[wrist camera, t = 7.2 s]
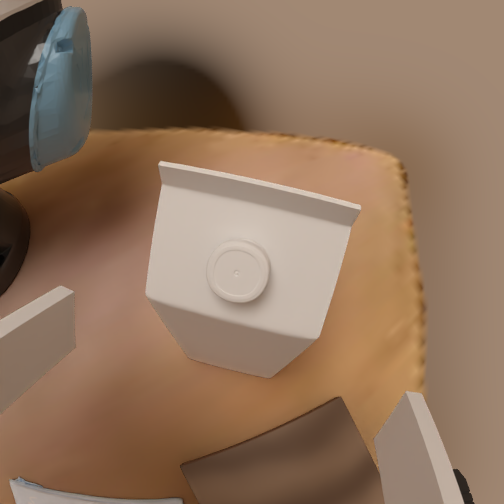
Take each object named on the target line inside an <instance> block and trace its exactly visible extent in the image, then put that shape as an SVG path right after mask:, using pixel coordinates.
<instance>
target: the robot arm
mask: <svg viewBox="0 0 504 504" xmlns="http://www.w3.org/2000/svg"><path fill="white" fill-rule="evenodd" d="M91 114H92V60H91V42H90V32H89V27H88V25H87V17H86V13H85V11H84V10H83V9H82V8H80V7H72V6H69V7H67V8H65V9H63V8H62V4H61V0H0V184H2V183H4V182H6V181H9V180H11V179H14V178H16V177H19V176H21V175H24V174H26V173H29V172H32V171H35V172H39V171H42V170H43V168H45V166H48V165H50V164H52V163H55V162H58V161H60V160H63V159H65V158H68V157H70V156H72V155H74V154H76V153H77V152H78V151H79V150H80V149H81V148H82V146H83V145H84V144H85V142H86V140H87V137H88V134H89V130H90V124H91ZM29 236H30V224H29V218H28V215H27V213H26V211H25V209H24V208H23V207H22V205H21V204H20V203H19V201H18V200H17V199H16V198H15V197H14V196H13V195H12V194H10V193H8V192H6V191H4V190H2V189H1V188H0V295H1V294H2V293H3V292H4V291H5V290H6V289H7V287H8V286H9V285H10V283H11V282H12V281H13V279H14V278H15V276H16V274H17V272H18V271H19V269H20V267H21V264H22V262H23V260H24V257H25V254H26V251H27V247H28V243H29ZM75 348H76V344H75V316H74V291H72V290H70V289H67V288H65V287H63V286H61V285H60V286H58V287H57V288H55V289H53V290H51V291H49V292H48V293H46V294H44V295H42V296H41V297H39V298H37V299H35V300H34V301H32V302H30V303H28V304H27V305H25V306H23V307H21V308H20V309H18V310H16V311H14V312H13V313H11V314H9V315H8V316H6V317H4V318H3V319H1V320H0V414H2V413H3V412H4V411H5V410H6V409H7V408H8V407H9V406H10V405H11V404H12V403H13V402H15V401H16V400H17V399H18V398H19V397H20V396H21V395H22V394H23V393H24V392H26V391H27V390H28V389H29V388H30V387H31V386H32V385H33V384H35V383H36V382H37V381H38V380H39V379H40V378H41V377H42V376H44V375H45V374H46V373H47V372H48V371H49V370H50V369H51V368H53V367H54V366H55V365H56V364H57V363H58V362H59V361H61V360H62V359H63V358H64V357H65V356H66V355H68V354H69V353H70V352H71V351H72V350H73V349H75ZM374 444H375V449H376V454H377V460H378V465H379V471H380V477H381V483H382V489H383V496H384V502H385V504H474V502H472V501H473V498H472V495H471V493H469V491H470V490H469V487H468V484H467V481H466V479H465V478H464V476H463V475H462V474H461V473H460V471H459V470H458V469H452V467H451V464H450V461H449V459H448V456H447V453H446V451H445V448H444V446H443V443H442V440H441V438H440V435H439V433H438V431H437V428H436V426H435V423H434V421H433V419H432V416H431V414H430V411H429V409H428V407H427V405H426V402H425V400H424V398H423V395H422V393H415V392H409V391H405V393H404V395H403V396H402V398H401V399H400V401H399V403H398V404H397V406H396V407H395V409H394V410H393V412H392V413H391V415H390V416H389V418H388V419H387V421H386V422H385V424H384V425H383V426H382V428H381V429H380V431H379V432H378V434H377V435H376V436H375V438H374Z"/></svg>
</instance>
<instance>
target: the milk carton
mask: <svg viewBox="0 0 504 504" xmlns="http://www.w3.org/2000/svg"><path fill="white" fill-rule="evenodd" d="M158 167H159V172H160V176H161V181H162V187H161V192H160V197H159V203H158V208H157V214H156V220H155V226H154V233H153V239H152V246H151V252H150V260H149V267H148V275H147V283H146V293H145V294H146V296H147V298H148V300H149V301H150V303H151V305H152V306H153V308H154V309H155V311H156V312H157V314H158V315H159V317H160V318H161V320H162V321H163V323H164V324H165V325H166V327H167V328H168V330H169V331H170V333H171V334H172V336H173V337H174V338H175V340H176V341H177V343H178V344H179V345H180V347H181V348H182V350H183V351H184V352H185V354H186V355H187V357H188V358H190V359H192V360H195V361H199V362H202V363H206V364H210V365H213V366H217V367H221V368H225V369H229V370H233V371H237V372H241V373H245V374H250V375H254V376H259V377H263V378H271V377H273V376H274V375H275V374H276V373H278V372H279V371H280V370H281V369H283V368H284V367H285V366H286V365H288V364H289V363H290V362H291V361H292V360H294V359H295V358H296V357H297V356H298V355H300V354H301V353H302V352H303V351H304V350H305V349H307V348H308V347H309V346H310V345H311V344H312V343H313V342H314V341H315V340H316V339H317V338H319V336H320V333H321V330H322V327H323V324H324V321H325V318H326V314H327V311H328V308H329V305H330V302H331V298H332V295H333V292H334V289H335V285H336V282H337V278H338V275H339V272H340V268H341V264H342V261H343V257H344V254H345V250H346V246H347V243H348V239H349V235H350V231H351V227H352V225H353V223H354V222H355V220H356V218H357V217H358V215H359V213H360V211H361V206H360V205H358V204H354V203H351V202H347V201H343V200H340V199H336V198H332V197H328V196H324V195H321V194H317V193H313V192H309V191H305V190H301V189H296V188H292V187H288V186H284V185H279V184H275V183H271V182H266V181H262V180H257V179H253V178H248V177H243V176H239V175H234V174H229V173H224V172H219V171H214V170H209V169H203V168H198V167H193V166H187V165H182V164H176V163H170V162H164V161H160V163H159V164H158Z"/></svg>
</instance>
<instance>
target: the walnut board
mask: <svg viewBox="0 0 504 504" xmlns="http://www.w3.org/2000/svg"><path fill="white" fill-rule="evenodd" d="M180 468H181V470H182V472H183V474H184V476H185V478H186V480H187V482H188V483H189V485H190V487H191V489H192V491H193V493H194V495H195V497H196V499H197V500H198V502H199V504H385V502H384V496H383V489H382V483H381V477H380V474H379V472H378V470H377V468H376V466H375V464H374V461H373V459H372V457H371V455H370V453H369V451H368V449H367V447H366V445H365V443H364V441H363V439H362V437H361V435H360V433H359V431H358V429H357V427H356V425H355V423H354V421H353V419H352V417H351V415H350V413H349V411H348V410H347V408H346V406H345V404H344V402H343V400H342V398H341V397H336V398H334V399H332V400H330V401H328V402H326V403H324V404H323V405H321V406H319V407H317V408H315V409H313V410H311V411H309V412H307V413H305V414H303V415H301V416H299V417H297V418H295V419H293V420H291V421H289V422H287V423H285V424H283V425H280V426H278V427H276V428H274V429H272V430H269V431H267V432H265V433H263V434H260V435H258V436H256V437H253V438H251V439H248V440H246V441H244V442H241V443H239V444H236V445H234V446H231V447H228V448H226V449H223V450H220V451H218V452H215V453H212V454H209V455H206V456H204V457H201V458H198V459H195V460H192V461H189V462H185V463H182V465H181V466H180Z"/></svg>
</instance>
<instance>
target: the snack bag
mask: <svg viewBox="0 0 504 504" xmlns="http://www.w3.org/2000/svg"><path fill="white" fill-rule="evenodd" d="M9 481H10V486H11V489H12V492H13V495H14V498H15V502H16V504H184V503H183V499H181V498H166V499H118V498H105V497H97V496H90V495H83V494H76V493H69V492H63V491H57V490H52V489H47V488H43V486H41V485H38V484H35V483H31V482H27V481H25V480H24V479H22V478H20V476H19V477H18V479H16V480H13V479H12V480H11V479H9ZM38 486H40V487H38Z"/></svg>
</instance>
